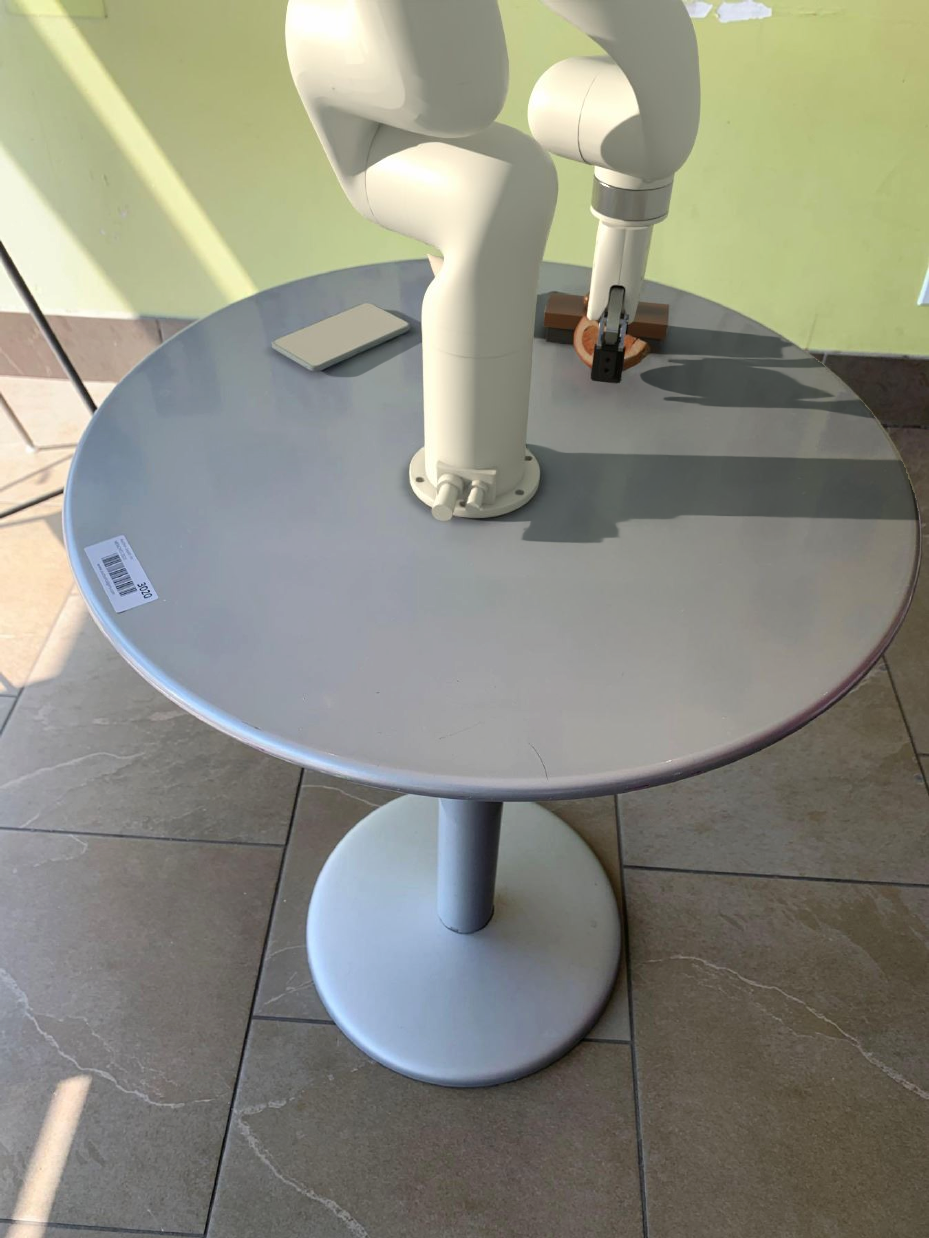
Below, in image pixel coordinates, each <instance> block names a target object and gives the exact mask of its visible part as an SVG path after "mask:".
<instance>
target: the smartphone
mask: <svg viewBox="0 0 929 1238" xmlns="http://www.w3.org/2000/svg"><path fill="white" fill-rule="evenodd" d="M410 330H411V324H410V323H409V322H408V321H407V320H404V319H402V318H400V317H399V316H397V315H394V314H393V313H391V312H389V311H386V310H385V309H383V308H381V307H379V306H377V305H376V304H373V303H371V302H362V303H359V304H357V305H355V306H352V307H350V308H347V309H344V310H343V311H340V312H337V313H335V314H333V315H329V316H328V317H325V318H323V319H321V320H318V321H316V322H313V323H310V324H308V325H306V326H304V327H301V328H299V329H296V330H294V331H292V332H289V333H287V334H284V335H282V336H279V337H277V338H275V339H273V340H272V341H271V348H272V349H274V350H275V351H277V352H278V353H280V354H282V355H284V356H285V357H287V358H289V359H290V360H292V361H294V362H295V363H297V364H299V365H300V366H302V367H304V368H305V369H307V370H308V371H310V372H313V373H314V372H315V373H316V372H317V373H318V372H320V371H323V370H325V369H328V368H330V367H331V366H334V365H337V364H339V363H341V362H342V361H346V360H347V359H350V358H352V357H354V356H356V355H359V354H361V353H363V352H365V351H368V350H371V349H373V348H374V347H376V346H379V345H380V344H384V343H386V342H387V341H389V340H391V339H394V338H396V337H399V336H401V335H403V334H405V333H407V332H409V331H410Z"/></svg>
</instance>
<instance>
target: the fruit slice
mask: <svg viewBox="0 0 929 1238" xmlns="http://www.w3.org/2000/svg"><path fill="white" fill-rule="evenodd" d="M599 325H600V323H599V322H597V321H596V320H592V321H590V320H589V319H588V318H587V317H586V316H583V317H582V319H581V320H580V322H579V324H578V326H577V327H576V330H575V333H574V344H573V347H574V350H575V352H576V354H577V356H578V357H579V359H580V360H581V362H583V363H584V364H585V365H586V366H587V367H588V368H589V369H591V370H592V362H593V354H594V346H595V344H597V340H598V333H599ZM604 332H606V325H605V327H604ZM623 347H626V349H625V356H624V362H623V369H622V372H625V371H627V370H629V369H631V368H633V367H636V366H637V365H639V364H640V363H641V362H642V361H643V360H644V359H645V358H646V357H647V356H649V351H650V347H649V345H648V343H646V342H644V341H641V340H640V339H637V338H635V337H633V336H630V335H627V334H625V339H624V346H623Z"/></svg>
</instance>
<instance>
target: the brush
mask: <svg viewBox="0 0 929 1238" xmlns="http://www.w3.org/2000/svg"><path fill="white" fill-rule="evenodd" d="M589 295H590V291H587V293H585V294H584V295H579V294H568V293H558V292H556V293H555V292H549V296H548V298H547V302H546V306H545V310H544V314H543V315H544V316H543V327H544V328H546V337H545V342H547V343H555V344H565V345H574V333H575V330H576V327H577V326H578V324H579V322H580V320H581V319H582V317H583V316H586V317H587V311H588V303H589ZM669 314H670V304H667V303H658V302H657V303H656V302H648V301H639V302H638V306H637V310H636V314H635V317H634V321H633V322H632V323H630V324H629V326H628V332H627V335H630V336H633V337H635V338H637V339H640V340H641V341H644V342H646V343H648V345H649V347H650V351H649V353H650V354H660V350H661V344H662V340H666V337H667V332H668V327H669ZM596 321H597V322H599V323H600V318H599V319H598V320H596ZM649 353H648V354H649Z"/></svg>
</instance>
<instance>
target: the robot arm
mask: <svg viewBox="0 0 929 1238" xmlns="http://www.w3.org/2000/svg"><path fill="white" fill-rule="evenodd" d="M538 1H539V2H540V3H541V4H543V5H544V6H545V7H546V8H547V9H549V10H550V11H551V12H553V13H554V14H555V15H557V16H558V17H560V18H561V19H562V20H564V21H566V22H567V23H568V24H570V25H572V26H573V27H575V28H576V29H577V30H579V31H580V32H581V33H583V34H585V35H586V36H587V37H588V38H590V39H591V40H592V41H593V42H595V43H596V44H597V45H598V46H599V47H600V48H601V49H603V51H605V53H604V54H595V55H581V56H571V57H567V58H565V59H562V60H560V61H558V62H556V63H554V64H552V65H551V66H550V67H549V68H547V70H545V71H544V72H543V73H542V75H540V77H539V78H538V80H537V81H536V83H535V85H534V87H533V89H532V91H531V94H530V97H529V100H528V105H527V123H528V127H529V132H530V134H531V135H532V136H531V135H529V134H528V133H526V132H524V131H522V130H520V129H518V128H515V127H513V126H510V125H508V124H505V123H502V122H498V121H495V120H496V119H497V118H498V117H499V115H500V114H501V112H502V111H503V108H504V106H505V104H506V99H507V96H508V92H509V87H510V59H509V53H508V46H507V41H506V36H505V30H504V25H503V20H502V16H501V11H500V6H499V2H498V0H288V3H287V7H286V13H285V14H286V15H285V26H284V27H285V28H284V30H285V31H284V32H285V33H284V37H285V48H286V57H287V62H288V67H289V71H290V74H291V77H292V80H293V83H294V86H295V88H296V91H297V94H298V95H299V98H300V100H301V103H302V105H303V107H304V109H305V112H306V115H307V116H308V118H309V121H310V122H311V125H312V127H313V129H314V131H315V134H316V136H317V138H318V140H319V142H320V144H321V146H322V149H323V151H324V153H325V155H326V157H327V160H328V161H329V163H330V166H331V168H332V170H333V172H334V175H335V177H336V179H337V181H338V183H339V185H340V188H341V190H342V191H343V193H344V194H345V196H346V198H347V199H348V201H349V202H350V204H351V206H352V207H353V208H354V209H355V210H356V211H357V212H358V214H360V215H361V216H362V217H363V218H364V219H365V220H367V221H369V222H370V223H372V224H374V225H376V226H378V227H381V228H383V229H386V230H387V231H390V232H393V233H396V234H399V235H402V236H405V237H407V238H410V239H413V240H415V241H418V242H420V243H423V244H425V245H427V246H429V247H432V248H435V249H436V250H438V251H440V252H441V254H442V255H443V258H444V263H443V266H442V268H441V270H440V272H439V273H438V274H437V276H436V277H435V276H434V278H433V280H431V282H430V284H429V285H428V286H427V288H426V291H425V293H424V296H423V301H422V305H421V342H422V344H421V345H422V346H421V347H422V381H423V382H422V383H423V385H422V386H423V387H422V389H423V426H424V428H423V429H424V431H423V432H424V445H423V446H422V447H421V448H420V449H419V450H418V451H417V452H416V453H415V454H414V456H413V457H412V459H411V461H410V464H409V471H408V472H409V473H408V475H409V484H410V486H411V489H412V491H413V492H414V495H416V496H417V498H418V499H419V500H420V501H422V502H423V503H424V504H425V505H426V506H428V507H430V508H431V516H432V517H433V519H436V520H437V521H440V522H449V521H450V520H451V519H452V518H453V517H459V518H466V519H487V518H492V517H499V516H502V515H505V514H509V513H511V512H513V511H516V510H517V509H519V508H521V507H523V506H524V505H526V504H527V503H528V502H530V500H531V499H532V498H533V497H535V494H536V492H537V491H538V489H539V486H540V479H541V478H540V477H541V468H540V465H539V462H538V460H537V459H536V457H535V455H534V454H533V453H532V452H531V451H530V450H529V449H528V448H527V446H526V445H527V434H528V433H527V432H528V421H529V420H528V419H529V405H530V394H531V392H530V391H531V381H532V380H531V378H532V365H533V351H534V350H533V349H534V335H535V326H536V325H535V324H536V313H537V312H536V311H537V300H538V291H539V284H540V283H539V282H540V276H541V270H542V266H543V262H544V261H543V260H544V256H545V251H546V247H547V244H548V239H549V236H550V232H551V228H552V225H553V221H554V217H555V213H556V208H557V204H558V198H559V197H558V196H559V176H558V171H557V168H556V167H557V166H556V164H555V162H554V160H553V158H552V156H551V155H550V153H551V154H553V155H554V156H557V157H561V158H564V159H566V160H571V161H574V162H577V163H582V164H585V165H588V166H594V171H593V179H592V190H591V199H590V206H589V207H590V208H589V209H590V212H591V214H592V215H593V216H594V217H595V218H596V219H598V220H599V221H598V225H597V226H598V227H597V231H596V239H595V244H594V245H595V246H594V253H593V259H592V260H593V262H592V270H591V279H590V288H589V292H590V295H589V303H588V311H587V318H588V319H589V320H590V321H592V320H598V319H599V318H600V325H599V333H598V340H597V344H595V346H594V354H593V362H592V369H591V370H590V371H591V372H590V380H591V381H592V382H599V383H608V384H609V383H610V384H620V383H621V381H622V375H623V371H622V369H623V362H624V356H625V349H626V347H623V346H624V339H625V334H627V332H628V326H629V324H630V323H632V322H633V321H634V317H635V314H636V310H637V306H638V302H640V299H641V294H642V289H643V285H644V280H645V275H646V271H647V265H648V260H649V255H650V249H651V243H652V238H653V231H654V226H655V225H657V224H660V223H661V222H664V221H665V220H666V219H667V218H668V216H669V212H670V205H671V198H672V193H673V187H674V181H675V175H676V173H678V171H679V170H680V169H681V168H682V167H683V166H684V165H685V163H686V162H687V160H688V159H689V157H690V155H691V153H692V150H693V148H694V146H695V143H696V141H697V140H696V139H697V136H698V132H699V127H700V120H701V103H702V102H701V98H702V97H701V96H702V95H701V93H702V92H701V75H700V73H701V72H700V56H699V47H698V40H697V35H696V34H697V33H696V30H695V27H694V24H693V20H692V18H691V16H690V14H689V11H688V9H687V7H686V4H685V3H684V1H683V0H538ZM605 325H606V332H604V327H605Z"/></svg>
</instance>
